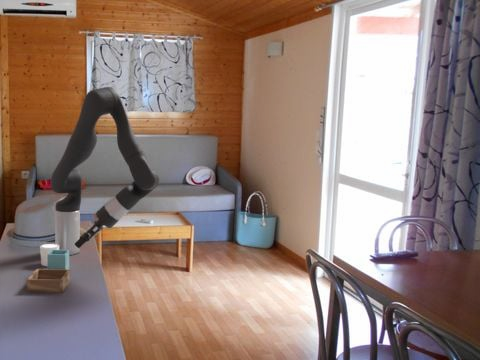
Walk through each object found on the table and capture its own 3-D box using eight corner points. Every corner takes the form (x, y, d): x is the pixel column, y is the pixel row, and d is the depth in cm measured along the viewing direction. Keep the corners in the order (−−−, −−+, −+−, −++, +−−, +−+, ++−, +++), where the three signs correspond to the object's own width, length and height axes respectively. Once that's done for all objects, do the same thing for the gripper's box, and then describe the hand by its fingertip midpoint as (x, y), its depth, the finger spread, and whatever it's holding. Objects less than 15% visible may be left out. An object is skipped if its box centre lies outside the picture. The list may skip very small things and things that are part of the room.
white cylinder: (62, 262, 217) (62, 244, 216) (54, 267, 210) (54, 248, 209) (44, 260, 217) (44, 242, 216) (36, 266, 211) (36, 247, 210)
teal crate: (51, 271, 205) (51, 249, 204) (69, 272, 205) (69, 250, 204) (47, 276, 199) (47, 254, 198) (65, 277, 200) (65, 254, 198)
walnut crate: (37, 280, 195) (37, 268, 195) (70, 280, 196) (70, 269, 195) (27, 291, 184) (27, 279, 183) (62, 292, 185) (62, 280, 184)
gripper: (108, 200, 207) (75, 230, 208) (101, 208, 193) (66, 240, 194) (122, 215, 208) (90, 245, 209) (117, 224, 194) (82, 256, 195)
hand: (78, 242), depth 201 cm, fingers open, 8 cm apart
